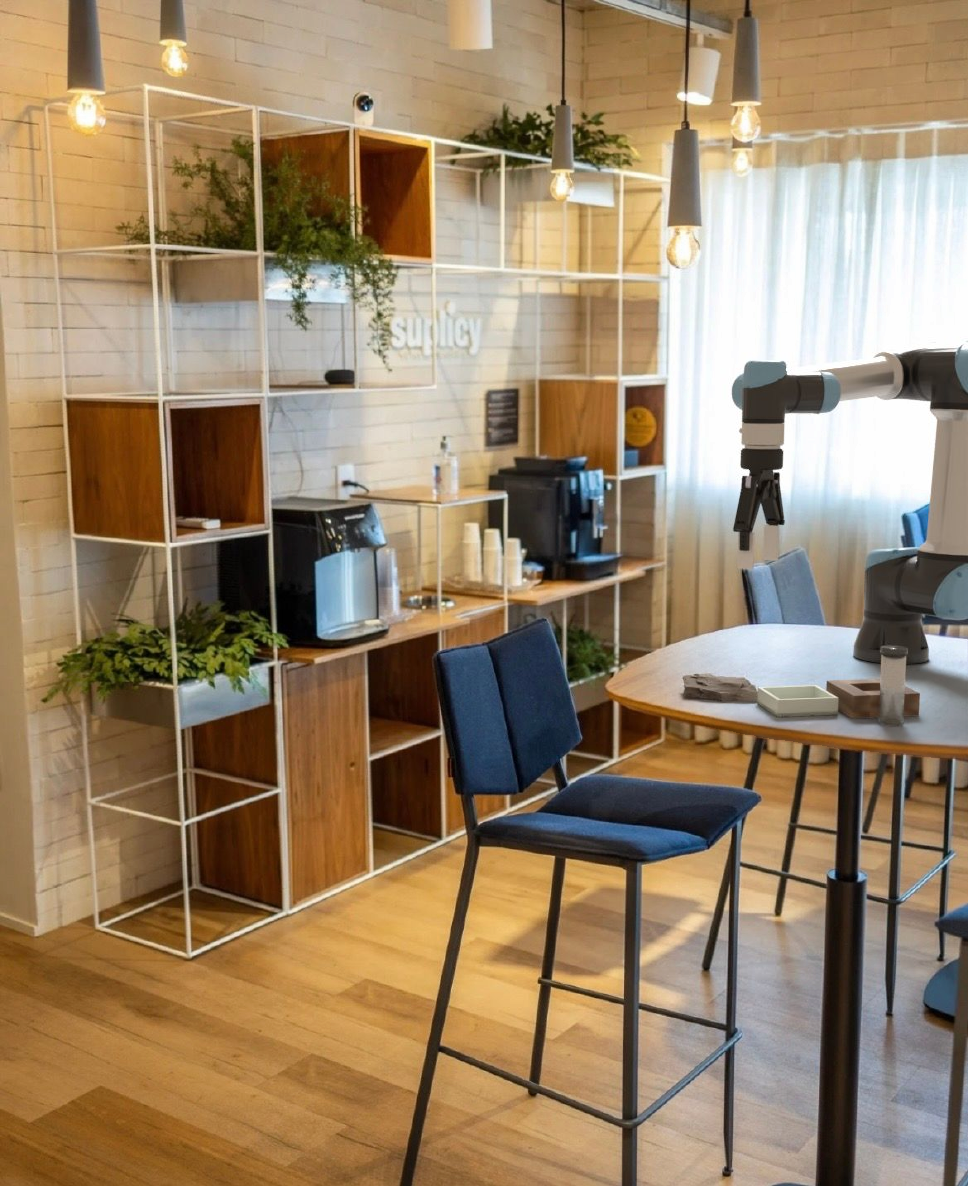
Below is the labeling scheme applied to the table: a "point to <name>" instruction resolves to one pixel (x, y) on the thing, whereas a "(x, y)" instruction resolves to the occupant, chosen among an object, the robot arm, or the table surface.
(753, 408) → the robot arm
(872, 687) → the bore block
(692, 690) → the rock
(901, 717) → the capped bottle
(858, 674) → the table surface
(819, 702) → the tray
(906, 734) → the table surface
